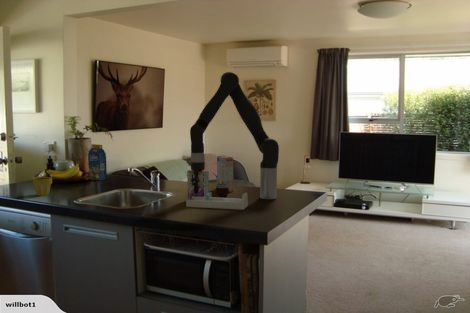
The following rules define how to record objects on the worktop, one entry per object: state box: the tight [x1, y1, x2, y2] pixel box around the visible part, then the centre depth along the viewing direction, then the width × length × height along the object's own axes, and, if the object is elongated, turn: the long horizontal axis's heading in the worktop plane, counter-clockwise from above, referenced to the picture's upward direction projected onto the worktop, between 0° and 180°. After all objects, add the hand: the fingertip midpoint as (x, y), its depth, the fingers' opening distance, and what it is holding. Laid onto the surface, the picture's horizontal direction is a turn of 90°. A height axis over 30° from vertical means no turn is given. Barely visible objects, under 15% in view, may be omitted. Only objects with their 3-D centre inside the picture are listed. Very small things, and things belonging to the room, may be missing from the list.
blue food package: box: [87, 143, 108, 182], centre depth 316 cm, size 6×12×25 cm, turn 56°
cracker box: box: [216, 155, 234, 193], centre depth 274 cm, size 14×6×21 cm, turn 22°
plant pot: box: [32, 176, 53, 197], centre depth 261 cm, size 10×10×10 cm
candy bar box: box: [186, 169, 210, 200], centre depth 242 cm, size 11×5×16 cm, turn 58°
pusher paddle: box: [206, 192, 225, 201], centre depth 229 cm, size 7×9×5 cm
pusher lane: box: [185, 192, 249, 211], centre depth 229 cm, size 9×30×7 cm, turn 76°
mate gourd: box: [212, 172, 230, 198], centre depth 248 cm, size 8×8×15 cm
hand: (198, 191), depth 243 cm, fingers closed on candy bar box, 6 cm apart
